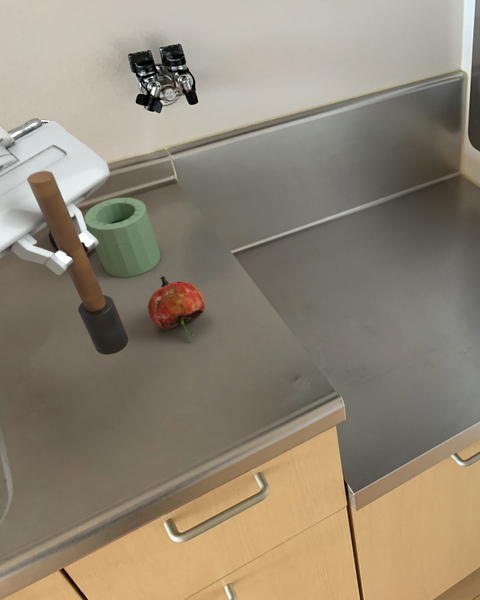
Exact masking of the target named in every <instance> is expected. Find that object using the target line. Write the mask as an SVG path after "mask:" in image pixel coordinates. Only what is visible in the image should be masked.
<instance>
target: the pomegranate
mask: <svg viewBox="0 0 480 600" xmlns="http://www.w3.org/2000/svg"><path fill="white" fill-rule="evenodd" d="M159 279H160V281H161V282H162V284H161V287H159V288H157V289H156V290H155V291H154V292H153V293H152V294H151V296H150V298H149V300H148V304H147V309H148V311H147V312H148V314H149V318H150V319H151V322H152V323H153V324H154V325H155V326H157V327H159V328H161V329H162V330H166V331H169V330H173V329H174V328H176V327H177V326H179V325H180V324H181V326H182V329H183V330H184V332H185V335H186V337H187V339H188V341H189V343H191V337H190V335H189V330H188V329H187V327H186V326H185V323H186V322H191V321H193V320H195V319H198V318H200V316H201V315H202V314H203V313H204V311H205V309H206V302H205V298H204V296H203V294H202V292H201V291H200V290H199V288H197V287H196V286H195V285H194V284H191V283H190V282H186V281H181V280H180V281H176V282H175V281H174V282H168V281H167V279H166V276H164V275H163V276H160V277H159Z"/></svg>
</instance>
